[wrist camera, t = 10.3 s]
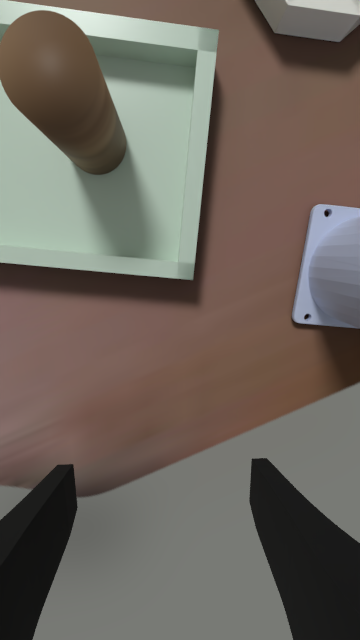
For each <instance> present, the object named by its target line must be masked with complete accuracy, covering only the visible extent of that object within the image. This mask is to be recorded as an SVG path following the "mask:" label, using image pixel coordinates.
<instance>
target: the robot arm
mask: <svg viewBox="0 0 360 640" xmlns="http://www.w3.org/2000/svg"><path fill="white" fill-rule="evenodd" d="M325 210H328V212H329V215H328V217H325V215H324V211H325ZM306 314H309V317H308V319H306V320H305V319H304V316H305V315H306ZM292 319H293V320H294V321H295V322H296V323H300V324H312V325H324V326H336V327H347V328H359V329H360V208H352V207H343V206H334V205H324V204H319V205H316V206H314V207H313V208H312V210H311V213H310V218H309V224H308V229H307V235H306V240H305V246H304V251H303V257H302V262H301V268H300V273H299V279H298V284H297V290H296V295H295V301H294V306H293V312H292ZM250 486H251V487H250V505H251V510H252V514H253V518H254V522H255V526H256V529H257V532H258V535H259V538H260V541H261V543H262V546H263V549H264V552H265V555H266V557H267V560H268V563H269V565H270V568H271V571H272V574H273V577H274V579H275V582H276V585H277V588H278V590H279V593H280V596H281V599H282V602H283V605H284V608H285V611H286V614H287V618H288V622H289V625H290V629H291V633H292V636H293V640H360V543H358V542H357V541H356V540H354V539H353V538H352V537H351V536H349V535H348V534H347V533H346V532H344V531H343V530H341V529H340V528H339V527H338V526H337V525H335V524H334V523H333V522H332V521H331V520H329V519H328V518H327V517H326V516H325V515H324V514H323V513H321V512H320V511H319V510H318V509H317V508H316V507H314V505H312V504H311V503H310V502H309V501H308V500H307V499H306V498H305V497H304V496H303V495H302V494H301V493H300V492H299V491H298V490H297V489H296V488H294V486H293V485H292V484H291V483H290V482H289V481H288V480H287V479H286V478H285V477H284V476H283V475H282V474H281V473H280V472H279V471H278V470H277V468H276V467H275V466H274V465H273V464H272V463H271V462H270V461H269V460H268V459H267V458H264V459H263V458H260V459H252V466H251V484H250ZM76 511H77V498H76V488H75V478H74V468H73V464H69V465H57V466H56V467H55V468H54V469H53V470H52V471H51V472H50V473H49V474H48V475H47V476H46V477H45V478H44V479H43V480H42V481H41V482H40V483H39V484H38V485H37V486H36V487H35V488H34V489H33V490H32V491H31V492H30V493H29V494H28V495H27V496H26V497H25V498H24V499H23V500H22V501H21V502H20V503H19V504H17V505H16V506H15V507H14V508H13V509H12V510H11V511H10V512H9V513H8V514H7V515H6V516H4V517H3V519H1V520H0V640H32V639H33V636H34V632H35V629H36V626H37V623H38V620H39V617H40V614H41V611H42V608H43V606H44V603H45V600H46V598H47V595H48V593H49V590H50V587H51V585H52V582H53V580H54V577H55V574H56V572H57V569H58V566H59V563H60V561H61V558H62V556H63V553H64V551H65V548H66V545H67V542H68V540H69V537H70V533H71V530H72V526H73V522H74V519H75V515H76Z"/></svg>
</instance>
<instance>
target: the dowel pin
mask: <svg viewBox="0 0 360 640" xmlns="http://www.w3.org/2000/svg"><path fill="white" fill-rule="evenodd" d="M0 80H1V83H2V86H3V88H4V91H5V93H6V94H7V96H8V98H9V99H10V101H11V102H12V103H13V105H14V106H15V107H16V108H17V109H18V110H19V111H20V112H21V113H22V114H23V115H24V116H25V117H26V118H27V119H28V120H29V121H30V122H31V123H33V124H34V125H35V126H36V127H37V128H38V129H39V130H40V131H41V132H42V133H43V134H44V135H45V136H46V137H47V138H48V139H49V140H50V141H51V142H52V143H54V144H55V145H56V146H57V147H58V148H59V149H60V150H61V151H62V152H63V153H64V154H65V155H66V156H67V157H68V158H69V159H70V160H71V161H72V162H73V163H75V164H76V165H77V166H78V167H79V168H80V169H82V170H83V171H85V172H87V173H90V174H94V175H103V174H107V173H109V172H111V171H113V170H114V169H116V168H117V167H118V166H119V165H120V163H121V162H122V160H123V158H124V156H125V152H126V136H125V132H124V129H123V127H122V124H121V121H120V119H119V116H118V114H117V111H116V108H115V106H114V103H113V100H112V98H111V95H110V92H109V90H108V87H107V84H106V82H105V79H104V76H103V74H102V71H101V68H100V66H99V63H98V60H97V58H96V55H95V52H94V50H93V47H92V45H91V43H90V41H89V39H88V38H87V36H86V35H85V33H84V32H83V31H82V30H81V28H80V27H79V26H78V25H77V24H75V23H74V22H73V21H72V20H70V19H69V18H67V17H65V16H64V15H62V14H59V13H56V12H53V11H48V10H37V11H32V12H28V13H26V14H24V15H22V16H20V17H19V18H17V19H16V20H15V21H14V22H13V23H11V25H10V26H9V27H8V28H7V30H6V32H5V33H4V35H3V37H2V40H1V43H0Z"/></svg>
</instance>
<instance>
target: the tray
mask: <svg viewBox="0 0 360 640" xmlns="http://www.w3.org/2000/svg"><path fill="white" fill-rule="evenodd" d="M37 10H48V11H53V12H56V13H59V14H62V15H64V16H65V17H67V18H69V19H70V20H72V21H73V22H74V23H75V24H77V25H78V26H79V27H80V28H81V30H82V31H83V32H84V33H85V35H86V36H87V38H88V39H89V41H90V43H91V45H92V47H93V50H94V52H95V55H96V58H97V60H98V63H99V66H100V68H101V71H102V74H103V76H104V79H105V82H106V84H107V87H108V90H109V92H110V95H111V98H112V100H113V103H114V106H115V108H116V111H117V114H118V116H119V119H120V121H121V124H122V127H123V129H124V132H125V136H126V152H125V156H124V158H123V160H122V162H121V163H120V165H119V166H118V167H117V168H116V169H114V170H113V171H111V172H109V173H107V174H103V175H94V174H90V173H87V172H85V171H83V170H82V169H80V168H79V167H78V166H77V165H76V164H75V163H73V162H72V161H71V160H70V159H69V158H68V157H67V156H66V155H65V154H64V153H63V152H62V151H61V150H60V149H59V148H58V147H57V146H56V145H55V144H54V143H52V142H51V141H50V140H49V139H48V138H47V137H46V136H45V135H44V134H43V133H42V132H41V131H40V130H39V129H38V128H37V127H36V126H35V125H34V124H33V123H31V122H30V121H29V120H28V119H27V118H26V117H25V116H24V115H23V114H22V113H21V112H20V111H19V110H18V109H17V108H16V107H15V106H14V105H13V103H12V102H11V101H10V99H9V98H8V96H7V94H6V93H5V91H4V88H3V86H2V83H1V80H0V262H1V263H12V264H23V265H33V266H44V267H55V268H66V269H77V270H88V271H99V272H110V273H121V274H132V275H143V276H154V277H164V278H175V279H186V280H193V275H194V266H195V256H196V246H197V236H198V227H199V217H200V207H201V198H202V188H203V178H204V168H205V159H206V149H207V139H208V130H209V120H210V110H211V100H212V91H213V81H214V71H215V62H216V52H217V42H218V33H219V30H215V29H208V28H201V27H194V26H187V25H179V24H172V23H165V22H158V21H151V20H143V19H136V18H129V17H122V16H115V15H108V14H100V13H93V12H86V11H79V10H72V9H64V8H57V7H50V6H43V5H36V4H28V3H21V2H14V1H7V0H0V43H1V40H2V37H3V35H4V33H5V32H6V30H7V28H8V27H9V26H10V25H11V23H13V22H14V21H15V20H16V19H17V18H19V17H20V16H22V15H24V14H26V13H28V12H32V11H37Z"/></svg>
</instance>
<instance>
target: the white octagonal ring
mask: <svg viewBox="0 0 360 640" xmlns="http://www.w3.org/2000/svg"><path fill="white" fill-rule="evenodd" d="M255 2H256V4H257V5H258V7H259V9H260V10H261V12H262V13H263V15H264V17H265V18H266V20H267V22H268V23H269V25H270V26H271V28H272V30H273V31H274V33H278V34H285V35H292V36H299V37H306V38H313V39H320V40H328V41H335V42H340V41H341V40H343V39H344V38H345V37H346V36H347V35H348V34H349V33H350V32H352V31H353V30H354V29H355V28H356V27H357V26H358V25H359V24H360V0H255Z"/></svg>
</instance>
